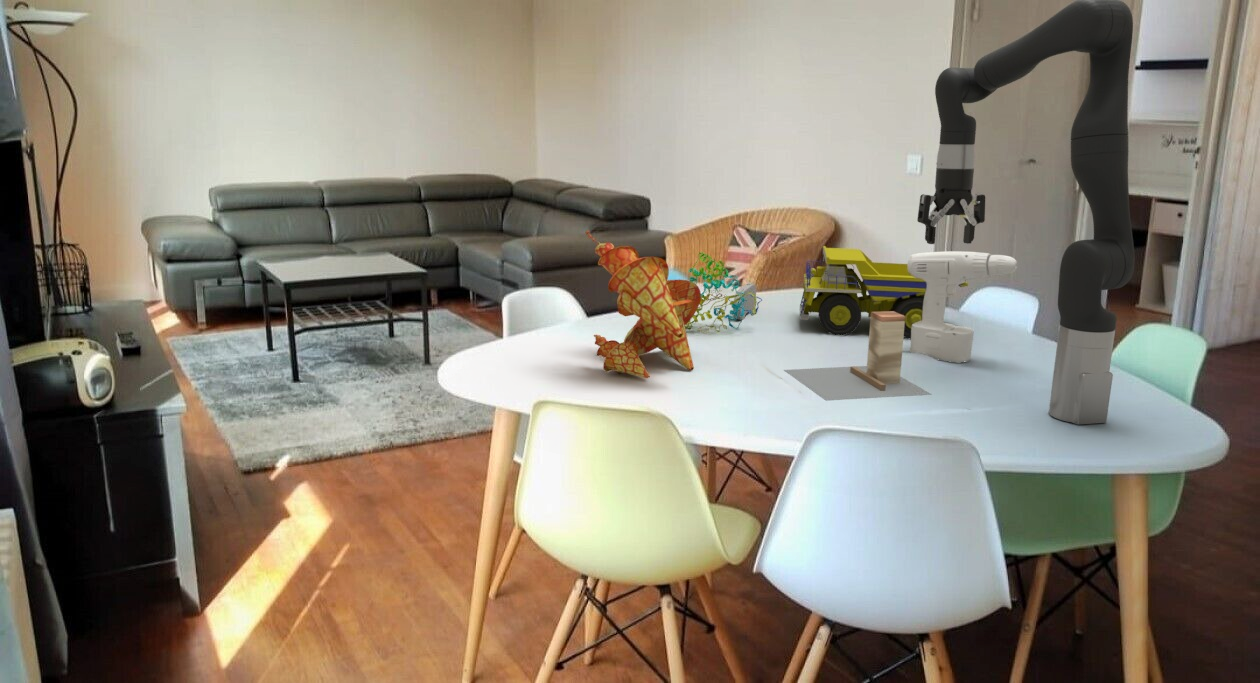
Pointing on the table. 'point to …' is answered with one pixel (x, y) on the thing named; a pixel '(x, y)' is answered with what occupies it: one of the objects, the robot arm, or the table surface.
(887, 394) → the mat
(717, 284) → the molecular model
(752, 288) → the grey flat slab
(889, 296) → the toy truck
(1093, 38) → the robot arm
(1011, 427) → the table surface
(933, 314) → the power drill
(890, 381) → the birch block
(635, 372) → the sculpture
